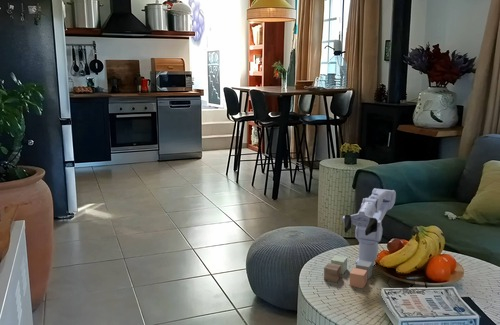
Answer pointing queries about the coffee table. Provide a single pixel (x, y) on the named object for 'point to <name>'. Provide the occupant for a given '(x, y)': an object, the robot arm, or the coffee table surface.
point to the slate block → (365, 267)
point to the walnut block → (332, 272)
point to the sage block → (340, 262)
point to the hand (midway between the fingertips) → (355, 231)
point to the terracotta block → (358, 277)
